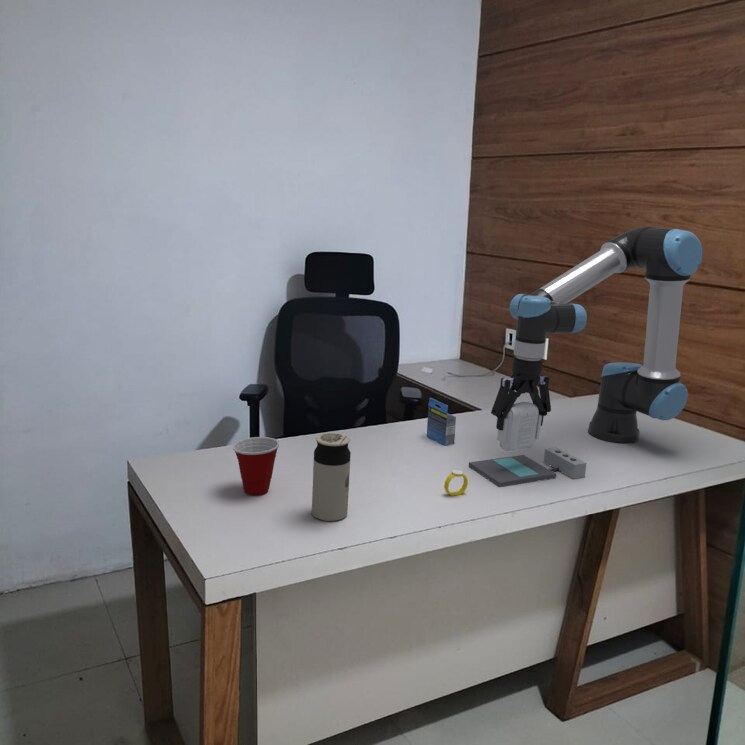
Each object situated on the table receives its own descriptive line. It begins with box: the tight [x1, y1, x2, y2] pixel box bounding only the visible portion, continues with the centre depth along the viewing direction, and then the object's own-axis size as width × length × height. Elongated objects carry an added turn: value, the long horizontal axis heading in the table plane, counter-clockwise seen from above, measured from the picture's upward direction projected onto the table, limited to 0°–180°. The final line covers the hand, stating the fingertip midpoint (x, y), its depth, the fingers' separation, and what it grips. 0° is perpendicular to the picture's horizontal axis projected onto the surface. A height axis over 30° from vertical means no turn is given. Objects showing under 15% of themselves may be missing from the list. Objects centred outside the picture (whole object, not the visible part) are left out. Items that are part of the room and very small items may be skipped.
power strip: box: [543, 447, 587, 479], centre depth 191 cm, size 9×12×4 cm
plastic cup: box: [232, 436, 280, 497], centre depth 166 cm, size 11×11×12 cm
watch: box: [443, 469, 469, 497], centre depth 172 cm, size 6×3×6 cm, turn 118°
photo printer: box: [499, 401, 539, 452], centre depth 185 cm, size 10×4×12 cm, turn 123°
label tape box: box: [426, 397, 457, 446], centre depth 207 cm, size 9×4×12 cm, turn 34°
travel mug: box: [311, 431, 351, 522], centre depth 156 cm, size 8×8×18 cm
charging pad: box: [468, 454, 557, 488], centre depth 188 cm, size 18×14×1 cm
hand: (518, 439), depth 186 cm, fingers closed on photo printer, 10 cm apart
